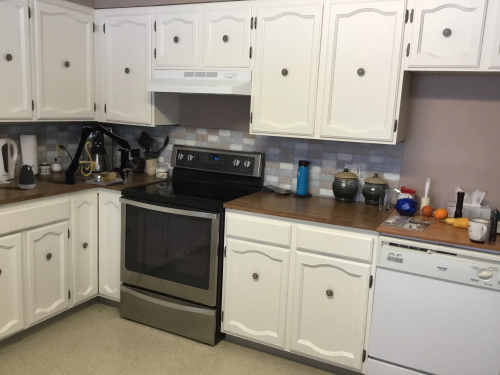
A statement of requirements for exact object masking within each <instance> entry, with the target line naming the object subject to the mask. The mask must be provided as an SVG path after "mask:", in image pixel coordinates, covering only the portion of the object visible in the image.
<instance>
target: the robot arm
mask: <svg viewBox="0 0 500 375" xmlns="http://www.w3.org/2000/svg"><path fill="white" fill-rule="evenodd" d="M98 132H99V133H101V134H103V135H105V136H107V137H108V138H110V139H111V140H113V141H115V143H117V144H118V145H119V146H120V147H119V148H118V149H117V152H120V156H119V157H120V158H118V161H119V163H120V165H118V166H114V167H113V169H112V172H114V173H118V174H119V176H120V178H121V179H122V180H123V181H125V173H127V174H126V181H128V177H129V174H130V173H131V172H132V171H135V170H136V169H137V168H138V163H139V162H137V161H134V162H132V160H131V159H141V148H135V147H134V148H133V147H132V146H131V144H130V141H129V139H127V138H125V137H122V136H118V134H116V133H114V132H112V131H111V130H109V129H107V128H106V127H104V126H103V125H100V124H99V125H96V126H84V127H82V129H81V133H80V140H79V143H78V145H77V149H76V151H75V153H74V157H73V158H72V160H71V162H70V163H69V165H68V167H67V169H66V170H65V171H64V178H65V181H64V182H63V185H64V184H65V185H75V184H78V182H77V181H76V180H77V176H76V172H78V171H79V170H81V167H80V166H82V163H79V162H80V161H81V158H82V155H83V152H84V149H85V145H86V143H87V142H88V140H89V138H90V137H91V135H92V134H94V133H98ZM130 157H131V159H130ZM123 181H122V182H123Z"/></svg>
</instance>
